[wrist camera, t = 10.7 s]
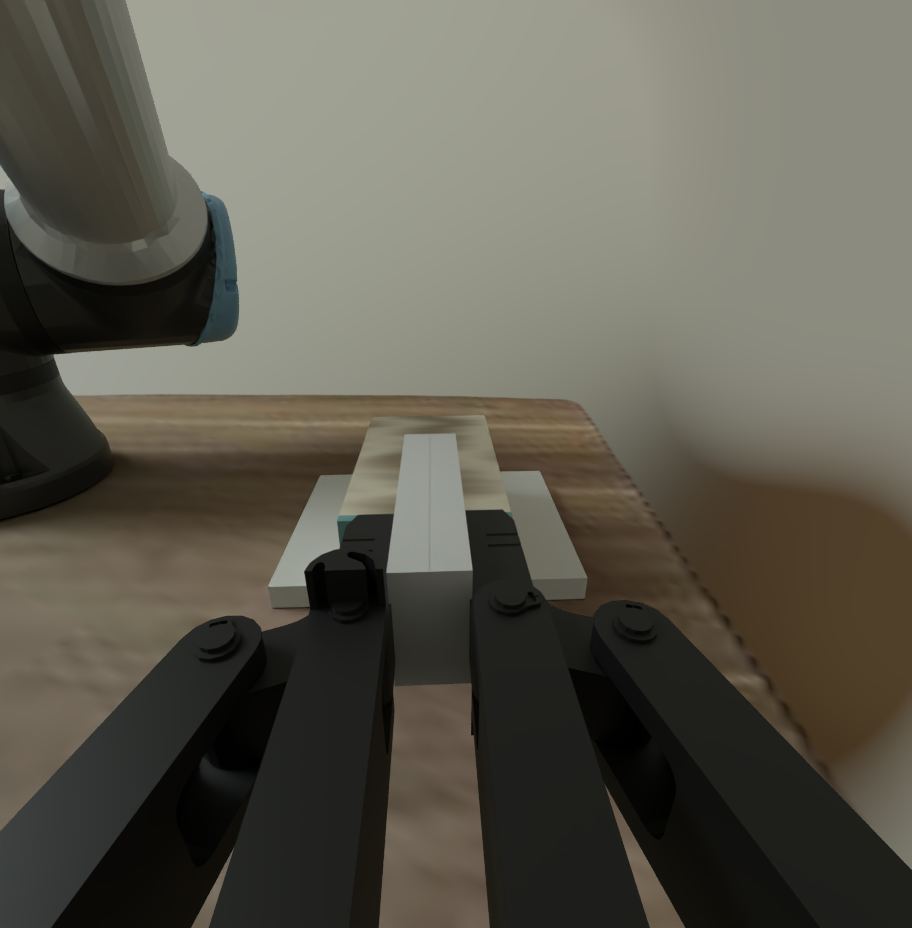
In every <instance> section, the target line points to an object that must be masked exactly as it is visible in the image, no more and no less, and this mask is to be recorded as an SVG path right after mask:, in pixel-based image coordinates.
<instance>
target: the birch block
mask: <svg viewBox="0 0 912 928" xmlns="http://www.w3.org/2000/svg"><path fill="white" fill-rule="evenodd" d="M452 433H455V434H456V442H457V450H458V458H459V466H460V474H461V482H462V490H463V498H464V506H465V510H497V509H503V510H504V511H505V512H506V513H507V514H508V515H509V516H510V517H511V518H512V519H513V517H512V513H511V510H510V506H509V502H508V499H507V495H506V492H505V488H504V484H503V481H502V477H501V474H500V470H499V466H498V463H497V459H496V455H495V452H494V448H493V445H492V441H491V437H490V434H489V430H488V427H487V423H486V419H485V416H484V415H481V416H414V417H372V419H371V422H370V425H369V428H368V431H367V434H366V437H365V440H364V443H363V446H362V449H361V452H360V455H359V458H358V461H357V463H356V466H355V469H354V472H353V475H352V478H351V481H350V484H349V487H348V490H347V493H346V496H345V499H344V502H343V505H342V508H341V510H340V513H339V516H338V519H337V527H338V535H339V543H340V545H341V542H342V538H343V535H344V531H345V528H346V526H347V525H348V524H349V523H350V522H351V521H352V520H353V519H354V518H355V517H356V516H357V515H364V514H394V511H395V503H396V496H397V488H398V481H399V473H400V466H401V458H402V450H403V443H404V435H405V434H452Z"/></svg>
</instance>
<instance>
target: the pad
mask: <svg viewBox="0 0 912 928" xmlns="http://www.w3.org/2000/svg"><path fill="white" fill-rule="evenodd" d="M500 474H501V477H502V481H503V484H504V488H505V492H506V495H507V499H508V502H509V506H510V510H511V513H512V517H513V520H514V521H515V525H516V528H517V532H518V536H519V538H520V542H521V546H522V549H523V552H524V555H525V559H526V562H527V566H528V569H529V572H530V576H531V579H532V583H533V586H534V587H535V588H537V589H538V590H539V591H541V592H542V594H543V596H544V597H545V599H546V600H560V599H585V593H586V586H587V579H588V578H587V575H586V573H585V571H584V569H583V567H582V564H581V562H580V560H579V558H578V555H577V553H576V551H575V549H574V547H573V544H572V542H571V540H570V538H569V535H568V533H567V531H566V529H565V526H564V524H563V522H562V520H561V518H560V515H559V513H558V511H557V509H556V506H555V504H554V502H553V500H552V497H551V495H550V493H549V491H548V489H547V486H546V484H545V482H544V480H543V477H542V475H541V473H540V471H510V472H500ZM351 478H352V475H320V477H319V479H318V481H317V483H316V486H315V488H314V490H313V492H312V494H311V496H310V498H309V500H308V503H307V505H306V507H305V509H304V511H303V513H302V515H301V517H300V520H299V522H298V524H297V526H296V528H295V530H294V532H293V534H292V537H291V539H290V541H289V543H288V545H287V547H286V549H285V551H284V554H283V556H282V558H281V560H280V562H279V564H278V566H277V568H276V571H275V573H274V575H273V577H272V579H271V581H270V583H269V585H268V590H269V595H270V600H271V605H272V608H288V607H310V605H309V599H308V593H307V587H306V581H305V575H304V571H305V569H306V568H307V566H308V565H309V563H310V562H311V561H313V560H314V559H316V558H317V557H319V556H320V555H322V554H324V553H327V552H330V551H332V550H335V549H339V548H340V543H339V535H338V527H337V519H338V516H339V513H340V510H341V508H342V505H343V502H344V499H345V496H346V493H347V490H348V487H349V484H350V481H351Z"/></svg>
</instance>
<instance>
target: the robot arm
mask: <svg viewBox="0 0 912 928" xmlns="http://www.w3.org/2000/svg"><path fill="white" fill-rule="evenodd" d="M0 165H1V167H2V168H3V170H4V171H5V172H6V174H7V176H8V179H7V182H6V186H5V190H0V519H4V518H8V517H12V516H15V515H19V514H23V513H26V512H29V511H33V510H36V509H39V508H42V507H45V506H47V505H50V504H53V503H56V502H58V501H61V500H63V499H66V498H68V497H70V496H72V495H74V494H77V493H79V492H81V491H83V490H84V489H86V488H88V487H90V486H92V485H93V484H95V483H96V482H98V481H99V480H101V479H102V478H103V477H104V476H105V475H107V474H108V473H109V471H110V470H111V469H112V467H113V465H114V459H113V456H112V453H111V450H110V447H109V444H108V441H107V439H106V437H105V436H104V434H103V433H102V432H100V431H99V430H98V429H97V428H96V426H95V425H94V424H93V422H92V421H91V419H90V418H89V416H88V415H87V414H86V412H85V411H84V410H83V408H82V407H81V406H80V404H79V403H78V402H77V400H76V399H75V398H74V397H73V395H72V394H71V393H70V392H69V390H68V389H67V388H66V386H65V385H64V383H63V381H62V379H61V376H60V373H59V371H58V368H57V365H56V362H55V360H54V356H53V354H65V353H76V352H88V351H103V350H117V349H131V348H144V347H157V346H171V345H186V346H198V345H199V344H201V343H207V342H215V341H223V340H226V339H228V338H229V337H231V336H232V335H233V334H234V332H235V330H236V328H237V325H238V317H239V294H238V287H237V284H236V282H237V266H236V257H235V249H234V242H233V235H232V230H231V225H230V221H229V216H228V213H227V210H226V207H225V205H224V203H223V202H222V201H221V200H220V199H219V198H217V197H215V196H212V195H207V194H206V193H204V192H202V191H200V189H199V187H198V185H197V183H196V182H195V180H194V179H193V178H192V176H191V175H190V174H189V172H187V170H186V169H184V167H183V166H182V165H180V164H179V163H178V162H177V161H176V160H174V159H173V158H172V157H170V156H169V155H168V151H167V148H166V144H165V141H164V137H163V133H162V130H161V126H160V123H159V119H158V115H157V112H156V108H155V105H154V101H153V98H152V94H151V91H150V87H149V83H148V80H147V76H146V72H145V69H144V65H143V62H142V58H141V55H140V51H139V48H138V44H137V40H136V37H135V33H134V29H133V26H132V23H131V19H130V15H129V12H128V8H127V4H126V1H125V0H0ZM304 575H305V581H306V587H307V593H308V599H309V605H310V612H309V615H308V616H306V617H304V618H303V619H301V620H299V621H297V622H294V623H291V624H288V625H285V626H282V627H278V628H274V629H270V630H267V631H263V632H261V627H260V626H259V625H258V624H257V623H256V622H255V621H254V620H253V619H250V618H247V617H244V616H224V617H221V618H217V619H213V620H210V621H208V622H206V623H204V624H202V625H199V626H197V627H195V628H194V629H193V630H192V631H190V632H189V633H188V634H187V635H185V636H184V637H183V638H182V639H181V640H180V641H179V642H178V643H177V644H176V645H175V646H174V647H173V648H172V649H171V650H170V652H169V653H168V654H167V655H166V656H165V657H164V658H163V659H162V660H161V661H160V662H159V663H158V664H157V665H156V666H155V667H154V669H153V670H152V671H151V672H150V673H149V674H148V675H147V676H146V677H145V678H144V679H143V680H142V681H141V682H140V683H139V684H138V686H137V687H136V688H135V689H134V690H133V691H132V692H131V693H130V694H129V695H128V696H127V697H126V698H125V699H124V700H123V701H122V702H121V704H120V705H119V706H118V707H117V708H116V709H115V710H114V711H113V712H112V713H111V714H110V715H109V716H108V717H107V718H106V719H105V721H104V722H103V723H102V724H101V725H100V726H99V727H98V728H97V729H96V730H95V731H94V732H93V733H92V734H91V735H90V736H89V738H88V739H87V740H86V741H85V742H84V743H83V744H82V745H81V746H80V747H79V748H78V749H77V750H76V751H75V752H74V753H73V755H72V756H71V757H70V758H69V759H68V760H67V761H66V762H65V763H64V764H63V765H62V766H61V767H60V768H59V769H58V770H57V772H56V773H55V774H54V775H53V776H52V777H51V778H50V779H49V780H48V781H47V782H46V783H45V784H44V785H43V786H42V787H41V789H40V790H39V791H38V792H37V793H36V794H35V795H34V796H33V797H32V798H31V799H30V800H29V801H28V802H27V803H26V804H25V806H24V807H23V808H22V809H21V810H20V811H19V812H18V813H17V814H16V815H15V816H14V817H13V818H12V819H11V820H10V821H9V823H8V824H7V825H6V826H5V827H4V828H3V829H2V830H1V831H0V928H191V927H192V925H193V923H194V921H195V919H196V917H197V915H198V914H199V912H200V910H201V908H202V906H203V904H204V902H205V900H206V899H207V897H208V895H209V893H210V891H211V889H212V887H213V885H214V884H215V882H216V880H217V878H218V876H219V874H220V872H221V870H222V869H223V867H224V865H225V863H226V861H227V859H228V857H229V856H230V854H231V852H232V850H233V848H234V850H233V854H232V857H231V860H230V863H229V866H228V869H227V872H226V875H225V879H224V882H223V885H222V888H221V891H220V894H219V897H218V901H217V904H216V907H215V910H214V913H213V916H212V919H211V922H210V926H209V928H379V915H380V902H381V888H382V875H383V861H384V847H385V834H386V820H387V806H388V793H389V779H390V765H391V752H392V738H393V725H394V699H393V685H394V680H395V686H411V685H436V684H460V683H472V712H471V735H474V743H475V755H476V767H477V779H478V791H479V803H480V815H481V827H482V839H483V851H484V863H485V875H486V887H487V899H488V911H489V923H490V928H650V927H649V924H648V921H647V918H646V915H645V911H644V908H643V905H642V902H641V899H640V895H639V892H638V889H637V886H636V883H635V880H634V876H633V873H632V870H631V867H630V864H629V861H628V857H627V854H626V851H625V848H624V845H623V841H622V838H621V835H620V832H619V829H618V826H617V822H616V819H615V816H614V813H613V810H612V806H611V803H610V800H609V797H608V794H607V791H606V787H607V789H608V790H609V792H610V794H611V796H612V798H613V799H614V801H615V803H616V805H617V806H618V808H619V810H620V812H621V814H622V815H623V817H624V819H625V821H626V823H627V824H628V826H629V828H630V830H631V831H632V833H633V835H634V837H635V839H636V840H637V842H638V844H639V846H640V848H641V849H642V851H643V853H644V855H645V856H646V858H647V860H648V862H649V864H650V865H651V867H652V869H653V871H654V873H655V874H656V876H657V878H658V880H659V881H660V883H661V885H662V887H663V889H664V890H665V892H666V894H667V896H668V897H669V899H670V901H671V903H672V905H673V906H674V908H675V910H676V912H677V914H678V915H679V917H680V919H681V921H682V922H683V924H684V926H685V928H912V870H911V869H910V868H909V867H908V866H907V865H906V864H905V863H904V862H903V861H902V860H901V859H900V858H899V856H898V855H897V854H896V853H895V852H894V851H893V850H892V849H891V848H890V847H889V846H888V845H887V844H886V843H885V842H884V841H883V840H882V839H881V838H880V837H879V836H878V835H877V834H876V833H875V832H874V831H873V830H872V829H871V828H870V826H869V825H868V824H867V823H866V822H865V821H864V820H863V819H862V818H861V817H860V816H859V815H858V814H857V813H856V812H855V811H854V810H853V809H852V808H851V807H850V806H849V805H848V804H847V803H846V802H845V801H844V800H843V799H842V798H841V797H840V796H839V795H838V793H837V792H836V791H835V790H834V789H833V788H832V787H831V786H830V785H829V784H828V783H827V782H826V781H825V780H824V779H823V778H822V777H821V776H820V775H819V774H818V773H817V772H816V771H815V770H814V769H813V768H812V767H811V766H810V765H809V764H808V763H807V761H806V760H805V759H804V758H803V757H802V756H801V755H800V754H799V753H798V752H797V751H796V750H795V749H794V748H793V747H792V746H791V745H790V744H789V743H788V742H787V741H786V740H785V739H784V738H783V737H782V736H781V735H780V734H779V733H778V732H777V731H776V730H775V728H774V727H773V726H772V725H771V724H770V723H769V722H768V721H767V720H766V719H765V718H764V717H763V716H762V715H761V714H760V713H759V712H758V711H757V710H756V709H755V708H754V707H753V706H752V705H751V704H750V703H749V702H748V701H747V700H746V699H745V698H744V696H743V695H742V694H741V693H740V692H739V691H738V690H737V689H736V688H735V687H734V686H733V685H732V684H731V683H730V682H729V681H728V680H727V679H726V678H725V677H724V676H723V675H722V674H721V673H720V672H719V671H718V670H717V669H716V668H715V667H714V666H713V665H712V663H711V662H710V661H709V660H708V659H707V658H706V657H705V656H704V655H703V654H702V653H701V652H700V651H699V650H698V649H697V648H696V647H695V646H694V645H693V644H692V643H691V642H690V641H689V640H688V639H687V638H686V637H685V636H684V635H683V634H682V633H681V631H680V630H679V629H678V628H677V627H676V626H675V625H674V624H673V623H672V622H671V621H670V620H669V619H668V618H667V617H665V616H664V615H663V614H661V613H660V612H659V611H657V610H656V609H654V608H652V607H649V606H647V605H645V604H643V603H639V602H633V601H628V600H620V601H611V602H609V603H606V604H604V605H601V606H600V608H599V609H598V610H597V611H596V612H595V614H594V618H592V617H588V616H583V615H578V614H573V613H569V612H566V611H562V610H560V609H557V608H555V607H553V606H551V605H550V604H548V603H547V601H546V599H545V597H544V596H543V594H542V592H541V591H539V590H538V589H537V588H535V587H534V586H533V583H532V579H531V576H530V572H529V569H528V566H527V562H526V559H525V555H524V552H523V549H522V546H521V542H520V538H519V536H518V532H517V528H516V525H515V521H514V520H513V519H512V518H511V517H510V516H509V515H508V514H507V513H506V512H505V511H504V510H503V509H497V510H465V506H464V498H463V490H462V482H461V474H460V466H459V458H458V450H457V442H456V434H455V433H452V434H405V435H404V443H403V450H402V458H401V466H400V473H399V481H398V488H397V496H396V503H395V511H394V514H364V515H357V516H356V517H355V518H354V519H353V520H352V521H351V522H350V523H349V524H348V525H347V526H346V528H345V531H344V535H343V538H342V542H341V545H340V548H339V549H335V550H332V551H330V552H327V553H324V554H322V555H320V556H319V557H317V558H316V559H314V560H313V561H311V562H310V563H309V565H308V566H307V568H306V569H305V571H304ZM604 783H605V784H604ZM605 785H606V787H605ZM234 846H235V847H234Z"/></svg>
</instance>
